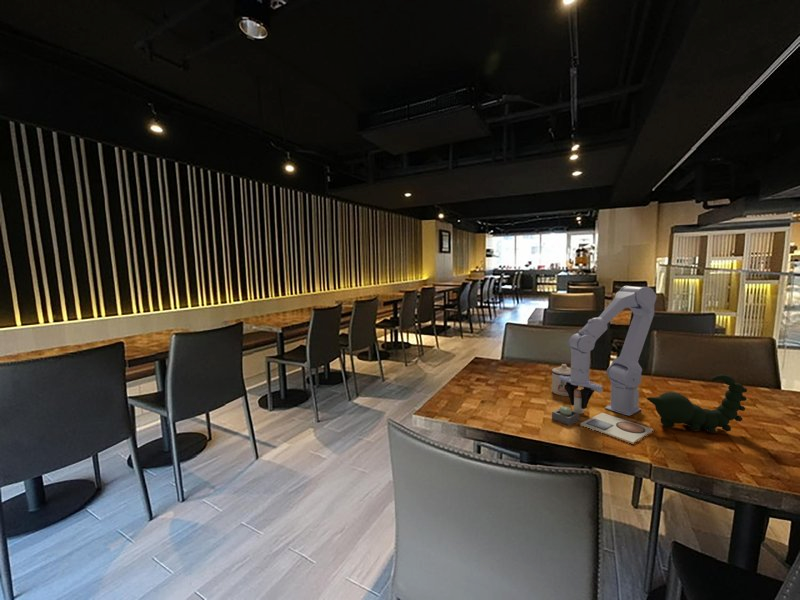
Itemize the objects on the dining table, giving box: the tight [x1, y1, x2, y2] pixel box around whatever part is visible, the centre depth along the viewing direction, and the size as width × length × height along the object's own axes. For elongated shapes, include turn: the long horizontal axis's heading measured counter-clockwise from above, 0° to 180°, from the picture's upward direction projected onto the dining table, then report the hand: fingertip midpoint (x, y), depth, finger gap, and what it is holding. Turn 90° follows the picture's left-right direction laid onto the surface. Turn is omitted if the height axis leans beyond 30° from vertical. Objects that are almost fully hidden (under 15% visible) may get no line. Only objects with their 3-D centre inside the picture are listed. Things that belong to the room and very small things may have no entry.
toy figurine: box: [646, 374, 748, 434], centre depth 106 cm, size 9×19×25 cm
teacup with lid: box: [551, 363, 571, 397], centre depth 139 cm, size 12×9×12 cm
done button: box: [559, 405, 573, 417], centre depth 114 cm, size 4×4×2 cm
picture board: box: [579, 412, 654, 443], centre depth 107 cm, size 14×15×1 cm
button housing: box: [551, 408, 580, 426], centre depth 114 cm, size 6×6×2 cm
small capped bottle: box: [573, 387, 585, 415], centre depth 120 cm, size 3×3×8 cm
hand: (578, 406), depth 120 cm, fingers closed on small capped bottle, 3 cm apart
